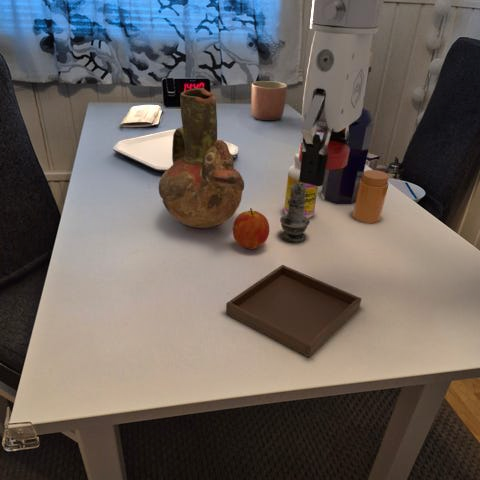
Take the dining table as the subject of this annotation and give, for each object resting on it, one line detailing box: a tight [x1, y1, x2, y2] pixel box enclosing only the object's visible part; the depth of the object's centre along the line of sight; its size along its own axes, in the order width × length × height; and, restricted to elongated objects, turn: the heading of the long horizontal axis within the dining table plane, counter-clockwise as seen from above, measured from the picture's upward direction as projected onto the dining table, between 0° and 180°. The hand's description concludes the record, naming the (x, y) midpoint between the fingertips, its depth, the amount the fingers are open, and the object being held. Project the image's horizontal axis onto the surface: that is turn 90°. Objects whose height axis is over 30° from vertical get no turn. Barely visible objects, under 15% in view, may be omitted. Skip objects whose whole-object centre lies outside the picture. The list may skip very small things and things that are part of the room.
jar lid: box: [298, 138, 350, 170], centre depth 58 cm, size 6×6×2 cm
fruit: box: [232, 207, 270, 250], centre depth 84 cm, size 7×7×8 cm
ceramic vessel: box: [158, 87, 245, 229], centre depth 85 cm, size 17×26×25 cm, turn 29°
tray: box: [225, 264, 362, 358], centre depth 70 cm, size 15×15×2 cm
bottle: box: [320, 51, 375, 205], centre depth 98 cm, size 9×9×30 cm
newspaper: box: [119, 104, 163, 128], centre depth 155 cm, size 23×12×2 cm, turn 1°
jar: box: [352, 169, 390, 224], centre depth 96 cm, size 6×6×10 cm
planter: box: [250, 80, 288, 121], centre depth 159 cm, size 12×12×11 cm
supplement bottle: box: [283, 151, 319, 219], centre depth 95 cm, size 7×7×13 cm
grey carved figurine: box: [279, 180, 311, 244], centre depth 86 cm, size 6×6×12 cm
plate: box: [112, 128, 239, 173], centre depth 126 cm, size 29×29×2 cm
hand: (321, 174), depth 60 cm, fingers closed on jar lid, 6 cm apart
